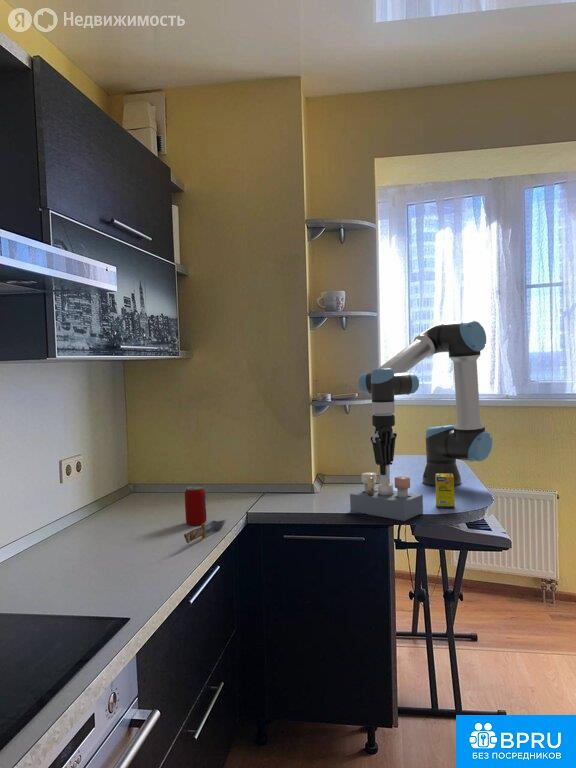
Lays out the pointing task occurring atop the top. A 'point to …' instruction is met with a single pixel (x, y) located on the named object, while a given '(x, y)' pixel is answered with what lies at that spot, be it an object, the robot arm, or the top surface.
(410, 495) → the mount
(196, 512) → the beverage can
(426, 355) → the robot arm
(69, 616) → the top surface
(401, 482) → the knob
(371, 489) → the pot post
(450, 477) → the supplement box
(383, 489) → the knob
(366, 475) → the knob
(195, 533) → the knife
